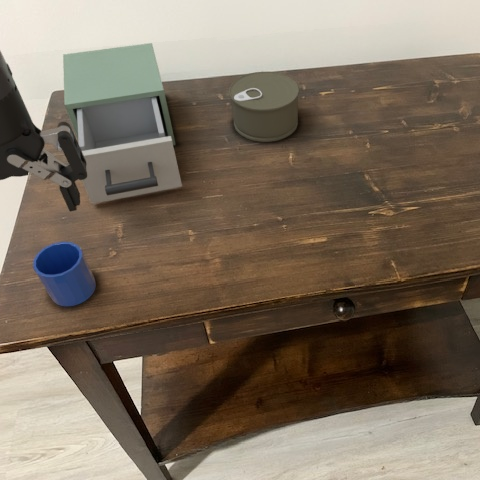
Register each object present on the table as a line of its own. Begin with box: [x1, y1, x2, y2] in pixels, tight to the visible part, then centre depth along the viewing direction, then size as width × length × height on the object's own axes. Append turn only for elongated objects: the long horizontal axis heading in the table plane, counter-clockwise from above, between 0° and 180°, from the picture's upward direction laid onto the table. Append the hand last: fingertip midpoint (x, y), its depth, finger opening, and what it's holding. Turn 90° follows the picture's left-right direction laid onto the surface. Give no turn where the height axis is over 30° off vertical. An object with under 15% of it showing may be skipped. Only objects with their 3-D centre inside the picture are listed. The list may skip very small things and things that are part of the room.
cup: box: [32, 241, 97, 307], centre depth 68 cm, size 6×6×6 cm
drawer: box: [77, 96, 183, 205], centre depth 81 cm, size 20×14×9 cm
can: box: [228, 71, 300, 143], centre depth 94 cm, size 12×12×7 cm
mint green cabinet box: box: [62, 42, 176, 146], centre depth 91 cm, size 16×15×11 cm
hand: (34, 213), depth 60 cm, fingers open, 8 cm apart
